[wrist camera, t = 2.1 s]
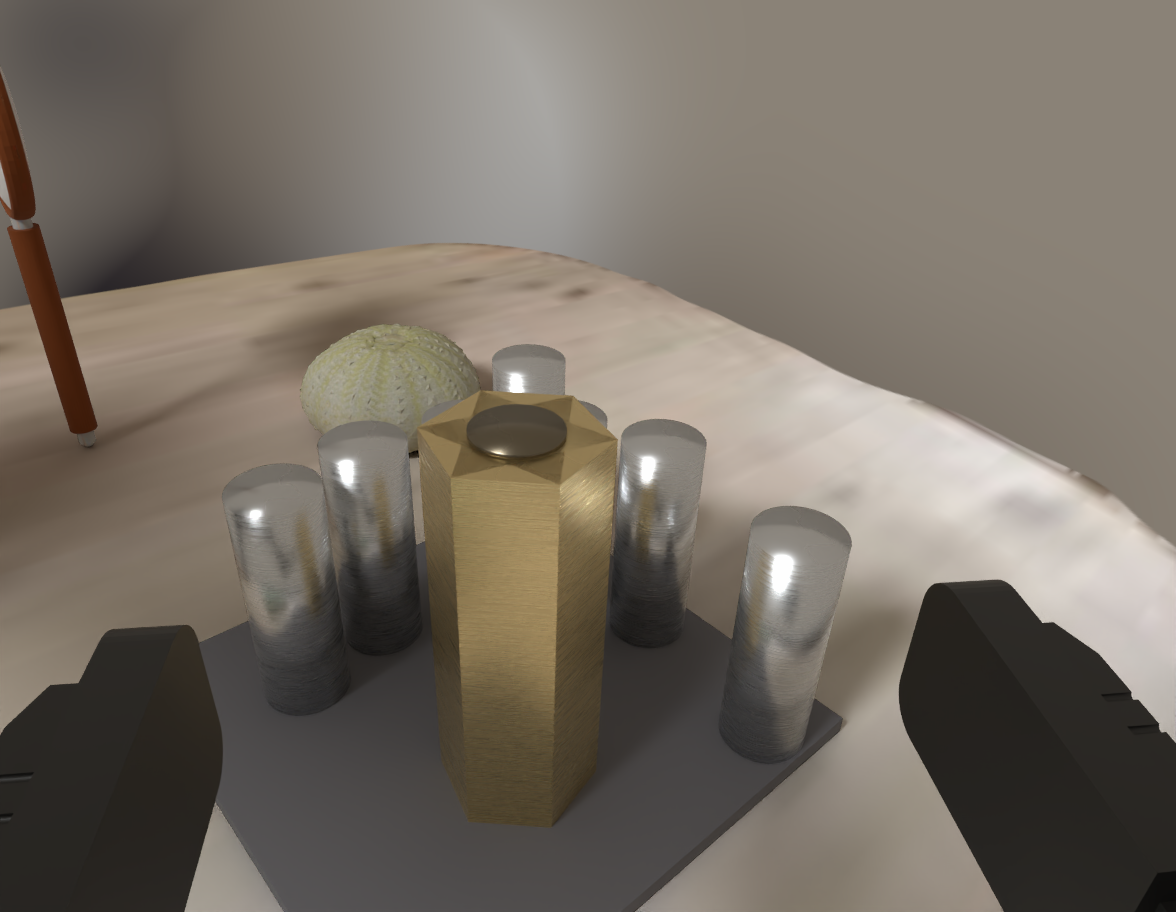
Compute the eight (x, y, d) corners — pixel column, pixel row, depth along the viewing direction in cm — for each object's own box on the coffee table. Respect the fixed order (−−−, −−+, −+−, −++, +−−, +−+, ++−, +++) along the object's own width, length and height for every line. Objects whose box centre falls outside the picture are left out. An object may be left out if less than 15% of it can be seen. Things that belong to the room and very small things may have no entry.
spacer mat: (141, 683, 31) (137, 670, 30) (526, 506, 41) (526, 495, 40) (408, 1110, 20) (406, 1098, 20) (839, 730, 30) (843, 718, 30)
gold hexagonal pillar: (614, 801, 27) (643, 458, 20) (483, 855, 25) (469, 501, 19) (547, 691, 30) (553, 371, 24) (428, 732, 29) (401, 400, 22)
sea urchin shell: (502, 352, 50) (476, 295, 42) (481, 489, 48) (451, 455, 41) (346, 338, 51) (293, 279, 43) (320, 471, 49) (260, 435, 41)
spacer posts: (223, 644, 32) (176, 453, 27) (533, 502, 40) (534, 338, 36) (500, 1010, 21) (495, 797, 17) (838, 718, 30) (890, 525, 26)
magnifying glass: (52, 414, 46) (-87, -23, 35) (89, 405, 47) (-37, -23, 36) (89, 492, 40) (-65, -2, 30) (130, 480, 41) (-6, -3, 31)
